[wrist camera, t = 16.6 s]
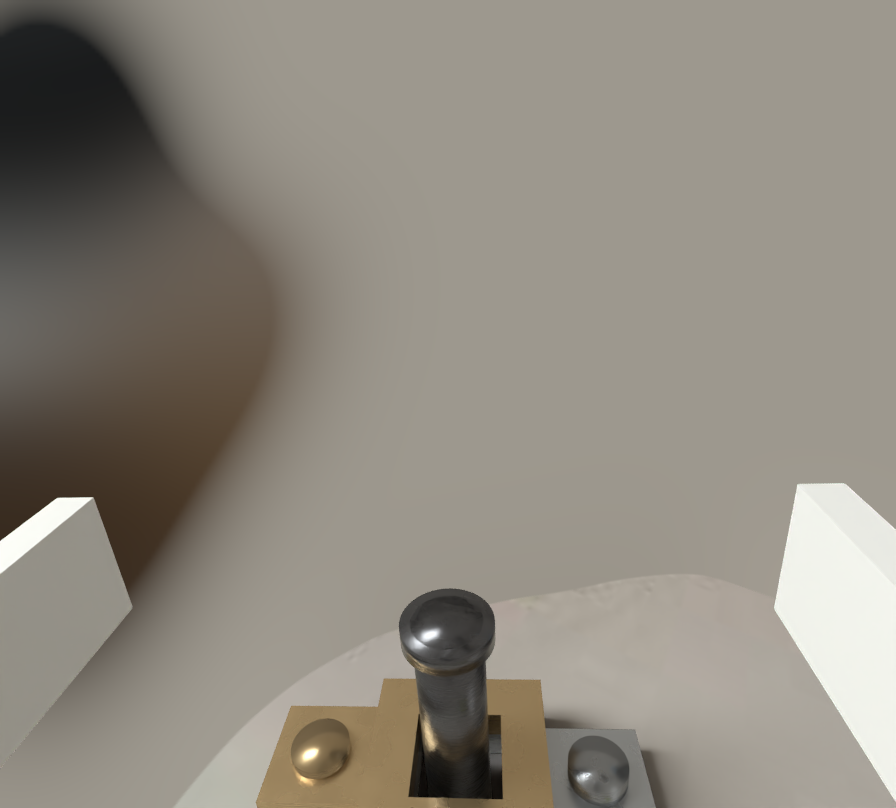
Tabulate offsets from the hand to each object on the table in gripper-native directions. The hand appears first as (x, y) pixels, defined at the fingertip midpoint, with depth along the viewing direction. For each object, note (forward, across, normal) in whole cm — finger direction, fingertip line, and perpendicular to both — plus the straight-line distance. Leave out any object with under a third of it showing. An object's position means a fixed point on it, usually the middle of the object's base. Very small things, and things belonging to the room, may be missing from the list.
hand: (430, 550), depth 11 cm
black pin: (+15, -2, -30) cm, 33 cm away
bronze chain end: (+15, -5, -30) cm, 34 cm away
